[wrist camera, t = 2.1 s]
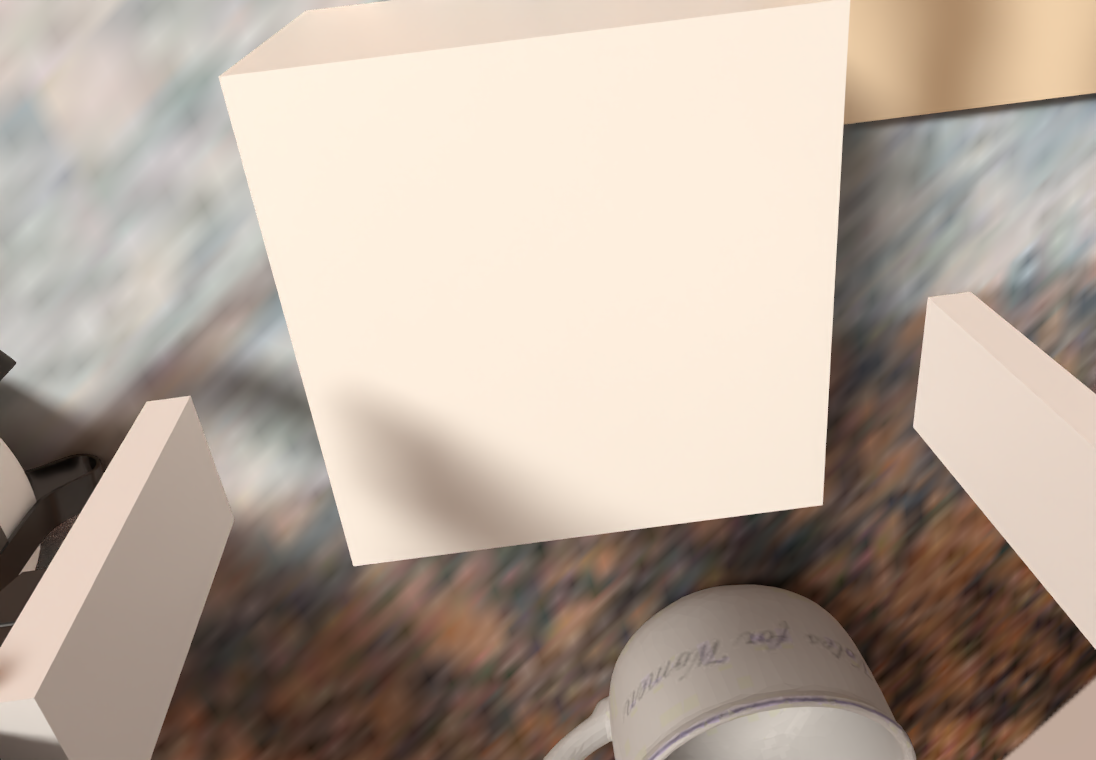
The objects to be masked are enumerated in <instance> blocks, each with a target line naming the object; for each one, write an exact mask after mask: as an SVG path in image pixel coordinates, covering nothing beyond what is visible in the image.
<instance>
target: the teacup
mask: <svg viewBox="0 0 1096 760" xmlns="http://www.w3.org/2000/svg"><path fill="white" fill-rule="evenodd" d="M610 741H613V748H614V755H615V760H916V755H915V752H914V748H913V745H912V743H911V740H910V738H909V737H908V735H907V734H906V732H905V731H904V729H903V728H902V727H901V726H900V724H898V723H897V722H896V720H895V718H894V716H893V714H892V712H891V710H890V708H889V706H888V704H887V702H886V700H885V698H884V696H883V694H882V692H881V690H880V688H879V686H878V684H877V682H876V680H875V678H874V677H873V675H872V673H871V671H870V669H869V667H868V666H867V664H866V662H865V661H864V659H863V657H862V655H861V654H860V652H859V650H858V649H857V647H856V645H855V644H854V642H853V641H852V639H851V638H850V636H849V635H848V633H847V632H846V631H845V630H844V629H843V627H842V626H841V625H840V624H839V622H838V621H837V620H836V619H835V618H834V617H833V616H832V615H831V614H830V613H828V612H827V611H826V610H825V609H823V608H822V607H821V606H819V605H818V604H816V603H815V602H813V601H811V600H810V599H808V598H806V597H804V596H801V595H799V594H797V593H794V592H791V591H788V590H785V589H781V588H777V587H771V586H763V585H725V586H717V587H712V588H707V589H704V590H700V591H697V592H694V593H692V594H689V595H687V596H684V597H682V598H680V599H679V600H677V601H675V602H673V603H671V604H670V605H669V606H667V607H665V608H664V609H662V610H661V611H659V612H658V613H656V614H655V615H654V616H652V617H651V618H650V619H649V620H648V621H646V622H645V623H644V624H643V625H642V626H641V627H640V628H639V629H638V630H637V631H636V632H635V633H634V634H633V636H632V637H631V638H630V640H629V641H628V642H627V644H626V645H625V647H624V648H623V650H622V652H621V654H620V656H619V658H618V660H617V662H616V664H615V668H614V671H613V674H612V679H611V684H610V693H609V696H608V697H606V698H603V699H602V700H601V701H599V702H598V703H597V705H596V707H595V709H594V711H593V713H592V715H591V716H590V717H589V718H587V719H586V720H585V721H583V722H582V723H581V724H579V725H578V726H577V727H575V728H574V729H573V730H572V731H571V732H570V733H568V734H567V735H566V736H565V737H564V738H562V739H561V740H560V741H559V742H558V743H557V744H556V745H555V746H554V747H553V748H552V749H551V751H550V752H549V753H548V754H547V755H546V756H545V757H544V759H543V760H584V759H585V758H586V757H587V756H588V755H590V754H591V753H592V752H594V751H595V750H597V749H598V748H600V747H601V746H603V745H605V744H607V743H608V742H610Z"/></svg>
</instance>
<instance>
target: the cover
mask: <svg viewBox="0 0 1096 760" xmlns="http://www.w3.org/2000/svg"><path fill="white" fill-rule="evenodd" d="M849 14H850V0H389V1H381V2H373V3H365V4H357V5H349V6H341V7H332V8H324V9H316V10H308V11H305V12H303V13H302V14H301V15H299V16H298V17H297V18H295V19H294V20H293V21H292V22H290V23H289V24H288V25H286V26H285V27H284V28H282V29H281V30H280V31H278V32H277V33H276V34H274V35H273V36H272V37H270V38H269V39H268V40H266V41H265V42H264V43H262V44H261V45H260V46H258V47H257V48H256V49H255V50H253V51H252V52H251V53H249V54H248V55H247V56H245V57H244V58H243V59H241V60H240V61H239V62H237V63H236V64H235V65H233V66H232V67H231V68H229V69H228V70H227V71H225V72H224V73H223V74H221V75H220V76H219V80H220V84H221V87H222V91H223V95H224V98H225V102H226V105H227V109H228V113H229V116H230V120H231V124H232V127H233V131H234V134H235V138H236V142H237V145H238V149H239V153H240V156H241V160H242V163H243V167H244V171H245V174H246V178H247V182H248V185H249V189H250V192H251V196H252V200H253V203H254V207H255V211H256V214H257V218H258V221H259V225H260V229H261V232H262V236H263V240H264V243H265V247H266V250H267V254H268V258H269V261H270V265H271V269H272V272H273V276H274V280H275V283H276V287H277V290H278V294H279V298H280V301H281V305H282V309H283V312H284V316H285V319H286V323H287V327H288V330H289V334H290V338H291V341H292V345H293V348H294V352H295V356H296V359H297V363H298V367H299V370H300V374H301V377H302V381H303V385H304V388H305V392H306V396H307V399H308V403H309V406H310V410H311V414H312V417H313V421H314V425H315V428H316V432H317V435H318V439H319V443H320V446H321V450H322V454H323V457H324V461H325V465H326V468H327V472H328V475H329V479H330V483H331V486H332V490H333V494H334V497H335V501H336V504H337V508H338V512H339V515H340V519H341V523H342V526H343V530H344V533H345V537H346V541H347V544H348V548H349V552H350V555H351V559H352V562H353V566H359V565H367V564H375V563H382V562H390V561H398V560H405V559H413V558H421V557H428V556H436V555H444V554H451V553H459V552H467V551H474V550H482V549H490V548H497V547H505V546H513V545H520V544H528V543H536V542H543V541H551V540H559V539H566V538H574V537H582V536H589V535H597V534H605V533H612V532H620V531H628V530H635V529H643V528H651V527H658V526H666V525H674V524H681V523H689V522H697V521H704V520H712V519H720V518H727V517H735V516H743V515H750V514H758V513H766V512H773V511H781V510H789V509H796V508H804V507H812V506H819V505H823V490H824V472H825V453H826V435H827V417H828V398H829V380H830V362H831V344H832V325H833V307H834V289H835V270H836V252H837V234H838V215H839V197H840V179H841V161H842V142H843V124H844V106H845V87H846V69H847V51H848V32H849Z"/></svg>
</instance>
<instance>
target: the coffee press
mask: <svg viewBox="0 0 1096 760" xmlns="http://www.w3.org/2000/svg"><path fill="white" fill-rule="evenodd" d="M15 364H16V362H15V361H14V360H13V359H12V358H10V357H9V356H8V355H6V354H5V353H4V352H2V351H1V350H0V381H1V379H2V378H3V377H4V376H5V375H6V374H7V373H8V372H9V371H10V370H11V369H12V368H13V367H14V365H15ZM102 476H103V471H102V467H101V462H100V459H99V458H98V457H96V456H94V455H90V454H77V455H72V456H68V457H65V458H62V459H60V460H57V461H54V462H52V463H49V464H46V465H43V466H41V467H37V468H34V469H30V470H26V471H24V470H23V469H22V467H21V465H20V464H19V462H18V460H17V459H16V457H15V456H14V454H13V453H12V452H11V450H10V449H9V448H8V446H7V445H6V444H5V443H4V442H3V440H2V439H1V438H0V591H1V590H3V589H4V588H5V587H6V586H7V585H8V584H9V583H11V582H12V581H13V580H14V579H15V578H16V577H17V576H18V575H20V574H21V573H22V572H26V571H33V570H35V568H36V565H37V562H38V558H39V553H40V545H41V542H42V541H43V539H44V538H45V537H46V536H47V535H48V534H49V532H50V531H52V530H53V529H54V528H55V527H57V526H58V525H59V524H61V523H63V522H64V521H66V520H68V519H69V518H71V517H73V516H75V515H77V514H79V513H81V511H82V509H83V508H84V506H85V504H86V503H87V501H88V499H89V498H90V496H91V494H92V493H93V491H94V489H95V488H96V486H97V484H98V483H99V481H100V479H101V478H102Z"/></svg>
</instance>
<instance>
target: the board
mask: <svg viewBox="0 0 1096 760" xmlns="http://www.w3.org/2000/svg"><path fill="white" fill-rule="evenodd" d="M1091 93H1096V0H850V14H849V32H848V51H847V69H846V87H845V106H844V124H852V123H860V122H868V121H876V120H884V119H892V118H900V117H907V116H915V115H923V114H931V113H939V112H947V111H955V110H963V109H971V108H979V107H987V106H995V105H1003V104H1011V103H1019V102H1027V101H1035V100H1043V99H1051V98H1059V97H1067V96H1075V95H1083V94H1091ZM844 124H843V125H844Z"/></svg>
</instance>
